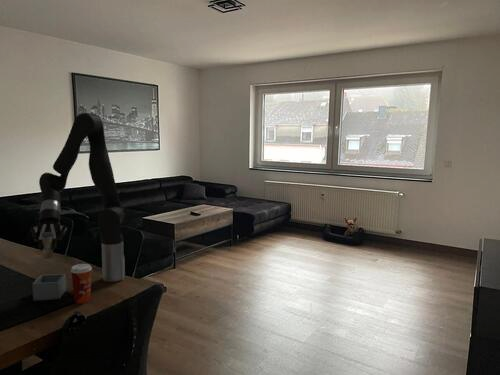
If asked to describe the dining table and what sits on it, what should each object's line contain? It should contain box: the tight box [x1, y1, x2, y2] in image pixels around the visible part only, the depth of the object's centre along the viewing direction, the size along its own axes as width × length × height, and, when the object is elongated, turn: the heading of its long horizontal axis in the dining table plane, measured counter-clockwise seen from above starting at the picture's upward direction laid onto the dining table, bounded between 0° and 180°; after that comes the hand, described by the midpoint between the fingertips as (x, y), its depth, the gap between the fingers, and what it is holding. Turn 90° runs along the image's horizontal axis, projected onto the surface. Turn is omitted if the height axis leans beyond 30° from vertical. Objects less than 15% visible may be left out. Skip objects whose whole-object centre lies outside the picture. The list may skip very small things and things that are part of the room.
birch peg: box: [42, 232, 54, 260], centre depth 147 cm, size 4×4×10 cm
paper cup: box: [70, 263, 93, 304], centre depth 144 cm, size 8×8×14 cm
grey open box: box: [31, 273, 67, 302], centre depth 149 cm, size 9×9×7 cm
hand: (47, 249), depth 145 cm, fingers closed on birch peg, 3 cm apart
